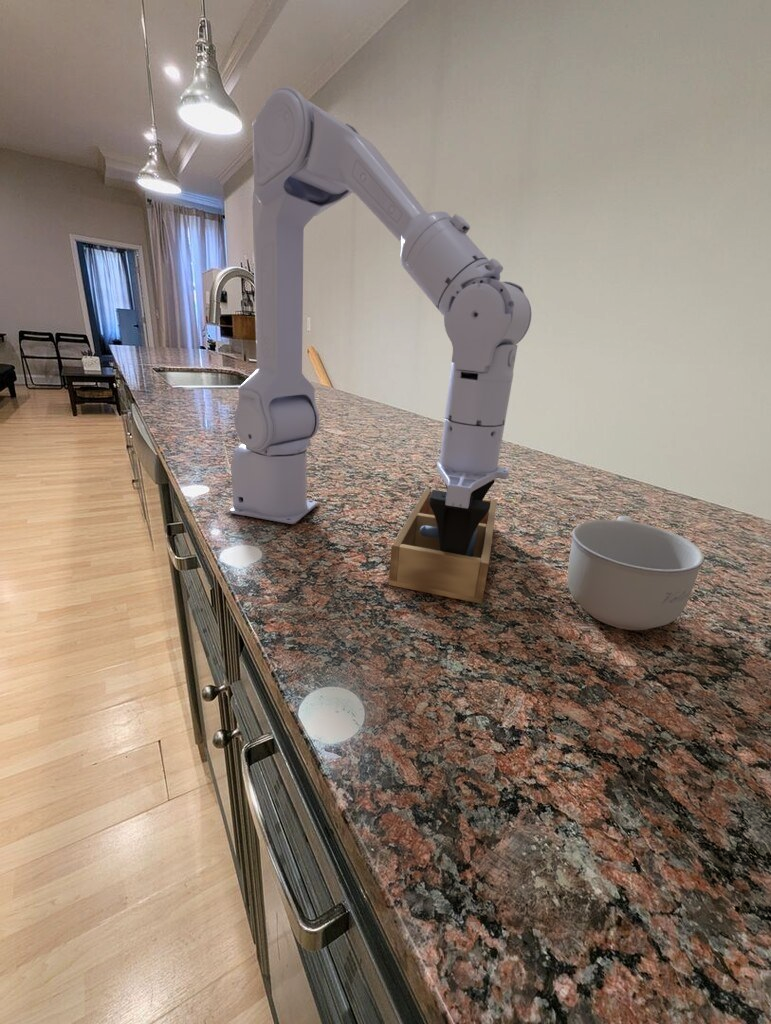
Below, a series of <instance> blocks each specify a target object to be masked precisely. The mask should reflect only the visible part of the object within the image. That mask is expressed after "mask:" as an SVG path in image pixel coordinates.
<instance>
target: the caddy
mask: <svg viewBox="0 0 771 1024" xmlns="http://www.w3.org/2000/svg"><path fill="white" fill-rule="evenodd" d="M432 490H433V489H426V488H425V490H424V491H423V493H422V494H421V496H420V498H419V499H418V500H417V503H416V504H415V506H414V508H413V509H412V511H411V513H410V514H409V516H408V518H407V519H406V521H405V523H404V524H403V526H402V527H401V529H400V531H399V532H398V534H397V535H396V538H395V539H394V540H393V542H392V544H391V547H390V558H389V559H390V560H389V574H388V585H389V586H392V587H393V586H394V587H398V588H401V589H408V590H412V591H417V592H422V593H426V594H431V595H437V596H442V597H445V598H449V599H456V600H461V601H465V602H470V603H475V604H479V605H482V604H483V601H484V595H485V589H486V582H487V577H488V571H489V566H490V560H491V559H490V558H491V552H492V551H491V550H492V544H493V537H494V536H493V535H494V529H495V521H496V520H495V519H496V511H497V504H498V499H493V498H487V497H484V499H483V501H486V502H491V504H490V509H489V511H488V513H487V514H486V516H485V517H484V518H483V519H482V520H481V522H480V523H479V525H478V526H477V528H476V529H477V534H476V541H475V547H474V553H473V557H470V556H465V555H460V554H454V553H449V552H443V551H440V545H439V539H437V538H431V537H425V536H422V535H421V533H420V528H421V527H422V526H424V525H427V526H433V527H438V526H437V522H436V518H435V516H434V513H433V511H432V509H431V507H430V503H429V497H430V494H431V492H432Z"/></svg>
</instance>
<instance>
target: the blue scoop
mask: <svg viewBox="0 0 771 1024" xmlns="http://www.w3.org/2000/svg"><path fill="white" fill-rule="evenodd" d="M420 533H421V535H422V536H425V537H431V538H437V539H439V533H438V527H433V526H427V525H424V526H422V527H421V528H420ZM476 534H477V529H476V530H475V532H474V534H473V536H472V539H471V542H470V545H469V548H468V551H467V553H466V556H470V557H473V553H474V547H475V541H476Z"/></svg>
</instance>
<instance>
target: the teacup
mask: <svg viewBox="0 0 771 1024" xmlns="http://www.w3.org/2000/svg"><path fill="white" fill-rule="evenodd" d="M571 539H572V540H571V546H570V550H569V557H568V562H567V574H566V580H567V581H566V582H567V586H568V590H569V592H570V595H571V597H572V598H573V599H574V600H575V602H576V603H577V604H578V605H579V606H580V607H582V608H583V610H584V611H585V612H586V613H587V614H588V615H590V617H592V618H594V619H595V620H597V621H599V622H601V623H603V624H605V625H608V626H611V627H613V628H617V629H621V630H626V631H646V630H649V629H655V628H659V627H663V626H667V625H668V624H671V623H673V622H675V620H676V619H678V618H679V617H680V616H681V614H682V613H683V612H684V610H685V609H686V606H687V604H688V601H689V599H690V597H691V595H692V592H693V590H694V587H695V584H696V580H697V577H698V574H699V571H700V568H701V567H702V566H703V564H704V561H705V556H704V553H703V551H702V550H701V548H699V547H698V546H697V545H696V544H694V543H693V542H692V541H690V540H689V539H687V538H685V537H683V536H682V535H679V534H677V533H675V532H672V531H669V530H667V529H663V528H660V527H656V526H654V525H651V524H645V523H640V522H635V520H634V518H633V517H631V516H626V515H620V516H618V517H617V518H616V519H595V520H589V521H585V522H581V523H580V524H578V525H576V526H575V527H574V528H573V529H572V533H571Z"/></svg>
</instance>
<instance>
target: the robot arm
mask: <svg viewBox="0 0 771 1024" xmlns="http://www.w3.org/2000/svg"><path fill="white" fill-rule="evenodd" d="M251 125H252V159H253V160H252V161H253V162H252V163H253V192H252V202H251V203H252V204H251V205H252V208H251V209H252V240H253V241H252V242H253V243H252V244H253V278H254V279H253V280H254V281H253V283H254V314H255V318H254V319H255V349H256V350H255V353H256V357H255V358H256V370H255V371H254V372H253V373H252V374H251V375H250V376H249V377H248V378H247V379H245V381H244V382H242V383H241V385H239V387H238V390H237V391H238V401H237V405H236V409H235V412H234V429H235V432H236V435H237V437H238V438H239V440H240V441H241V444H240V445H239V446H238V447H237V448H236V449H235V450H234V451H233V452H234V453H233V455H232V458H231V464H230V475H231V489H232V504H233V507H232V508H230V514H234V515H239V516H244V517H245V516H246V517H249V518H256V519H260V520H266V521H272V522H277V523H283V524H289V525H295V524H296V523H297V522H299V521H300V520H301V519H302V518H304V517H305V516H306V515H307V514H308V513H309V512H311V511H312V510H313V509H314V508H316V507H317V506H318V501H317V500H312V499H308V497H307V496H308V493H307V492H308V491H307V490H308V487H307V486H308V484H307V483H308V482H307V481H308V470H307V469H308V468H307V467H308V465H307V464H308V461H307V460H308V457H307V456H308V454H307V453H308V450H307V449H308V448H309V447H311V439H312V438H314V437H315V436H316V434H317V433H318V430H319V427H320V413H319V410H318V407H317V404H316V399H315V398H316V397H315V393H316V391H315V387H314V385H313V384H312V383H311V381H309V380H308V378H307V377H306V376H305V375H304V374H303V324H304V323H303V322H304V319H303V318H304V315H303V313H304V312H303V311H304V309H303V308H304V237H305V236H304V234H305V233H304V232H305V231H304V229H305V227H306V226H307V224H309V222H310V221H311V220H313V218H314V217H317V216H319V215H320V214H322V213H323V212H325V211H327V210H329V209H330V208H331V207H333V206H335V205H336V204H338V203H340V202H341V201H343V200H344V199H346V198H347V197H349V196H350V195H351V194H354V195H355V196H357V198H358V199H359V200H360V201H361V202H362V203H363V204H364V205H365V206H366V207H367V208H368V210H370V212H372V214H373V215H374V216H375V217H376V218H377V219H378V221H380V222H381V223H382V224H383V225H384V226H385V227H386V229H387V230H388V231H389V232H390V233H391V234H392V235H393V236H394V237H395V238H396V240H397V241H398V242H399V243H400V257H399V258H400V263H401V267H402V268H403V269H404V271H405V272H406V273H407V274H408V275H409V277H411V279H412V280H413V281H414V282H415V284H416V285H417V286H418V287H419V289H420V290H421V291H422V292H423V293H424V294H425V296H426V297H427V299H429V300H430V302H431V303H432V304H433V305H434V307H435V308H436V309H437V310H438V311H439V313H440V314H441V315H442V316H443V324H444V325H443V326H444V330H445V333H446V335H447V337H448V339H449V341H450V343H451V346H452V356H451V365H450V369H449V370H450V371H449V379H448V387H447V394H446V395H447V397H446V404H445V412H444V420H443V427H442V437H441V445H440V452H439V453H440V454H439V459H438V460H437V462H436V471H437V472H438V475H440V477H441V479H442V481H443V482H444V484H445V488H446V491H442V490H437V489H431V490H432V492H431V494H430V497H429V503H430V507H431V509H432V511H433V513H434V516H435V518H436V522H437V526H438V533H439V545H440V551H443V552H449V553H454V554H460V555H465V556H466V553H467V551H468V548H469V545H470V542H471V539H472V536H473V534H474V532H475V530H476V528H477V526H478V525H479V523H480V522H481V520H482V519H483V518H484V517H485V516H486V514H487V513H488V511H489V509H490V504H491V502H486V501H483V499H484V498H486V495H487V493H488V492H489V490H490V489H491V487H492V486H493V485H494V484H495V480H496V479H501V480H507V479H508V478H509V474H510V468H509V467H506V466H501V465H499V460H500V454H501V448H502V443H503V438H504V431H505V425H506V420H507V415H508V408H509V402H510V398H511V397H510V396H511V391H512V384H513V379H514V369H515V363H516V357H517V352H518V346H519V345H518V344H519V343H520V342H521V341H522V340H523V339H524V337H525V336H526V335H527V333H528V332H529V329H530V326H531V322H532V307H531V304H530V301H529V299H528V297H527V295H526V294H525V291H524V288H523V287H522V286H521V285H520V284H517V283H514V282H511V281H501V280H500V279H501V273H502V272H503V270H504V266H503V265H502V264H501V263H500V261H498V260H497V259H496V258H490V259H488V257H487V256H486V255H485V254H484V253H483V252H482V250H481V249H480V248H479V247H478V246H477V245H476V243H475V242H474V241H473V240H472V239H471V238H470V237H469V235H468V234H467V233H468V232H469V230H470V229H471V225H470V224H469V223H468V221H466V219H465V218H464V217H462V216H461V215H458V214H457V213H455V214H453V215H452V216H451V215H450V214H449V213H448V212H446V211H442V210H441V211H433V212H427V211H426V210H425V208H424V207H423V205H421V203H420V202H419V201H418V199H417V198H416V196H414V194H413V193H412V192H411V191H410V188H408V186H406V184H405V183H404V182H403V180H402V179H401V178H400V176H399V175H398V174H397V172H396V171H395V169H393V167H392V166H391V164H390V163H389V162H388V160H386V158H385V157H384V155H382V153H381V151H379V149H378V148H377V147H376V146H375V145H374V143H372V142H371V141H369V140H368V139H367V138H365V136H362V134H361V133H360V132H359V130H358V129H356V128H355V127H354V126H352V125H350V124H349V123H344V122H343V121H341V120H340V119H338V118H337V117H335V116H333V115H331V113H328V112H327V111H326V110H323V109H322V108H321V107H319V106H317V105H316V104H314V103H313V102H311V101H310V100H308V99H307V98H305V97H304V96H303V94H301V92H299V90H297V89H295V88H293V87H292V86H285V85H284V86H279V87H277V88H276V89H275V90H273V91H272V92H271V94H269V96H268V97H267V98H266V100H265V101H264V103H263V105H262V107H261V108H260V110H259V112H258V113H257V115H256V116H255V118H254V120H253V121H252V124H251Z"/></svg>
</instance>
